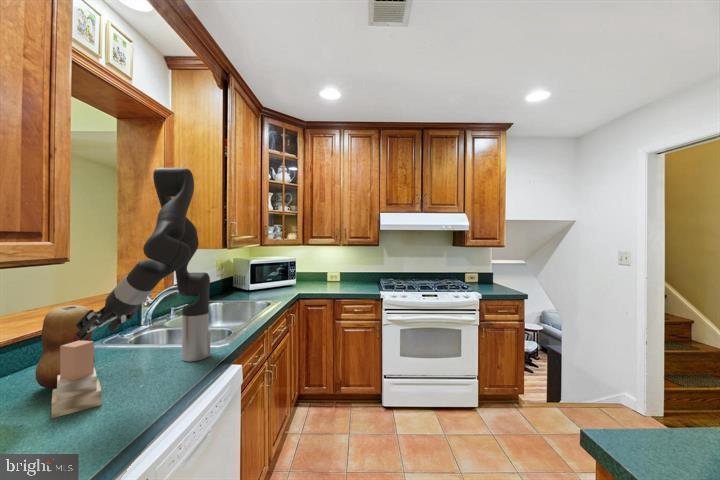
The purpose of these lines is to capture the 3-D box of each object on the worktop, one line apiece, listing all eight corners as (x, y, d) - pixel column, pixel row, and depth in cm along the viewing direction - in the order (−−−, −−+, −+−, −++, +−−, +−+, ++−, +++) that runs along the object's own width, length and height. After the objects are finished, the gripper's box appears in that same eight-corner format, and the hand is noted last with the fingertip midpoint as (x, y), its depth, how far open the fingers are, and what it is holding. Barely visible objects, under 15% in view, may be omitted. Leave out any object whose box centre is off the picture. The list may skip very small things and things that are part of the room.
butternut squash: (61, 398, 92) (61, 312, 92) (23, 394, 94) (23, 310, 94) (106, 377, 106) (106, 303, 106) (71, 375, 108) (72, 301, 108)
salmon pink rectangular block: (79, 371, 92) (79, 340, 92) (93, 372, 91) (93, 341, 91) (60, 378, 87) (60, 345, 87) (74, 380, 86) (75, 347, 86)
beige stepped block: (98, 392, 96) (98, 365, 96) (101, 404, 89) (101, 376, 89) (52, 403, 89) (52, 375, 89) (51, 418, 82) (51, 387, 82)
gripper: (145, 280, 93) (112, 317, 95) (95, 287, 79) (59, 330, 81) (160, 298, 92) (127, 335, 94) (113, 309, 78) (75, 352, 80)
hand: (95, 333), depth 88 cm, fingers open, 8 cm apart
